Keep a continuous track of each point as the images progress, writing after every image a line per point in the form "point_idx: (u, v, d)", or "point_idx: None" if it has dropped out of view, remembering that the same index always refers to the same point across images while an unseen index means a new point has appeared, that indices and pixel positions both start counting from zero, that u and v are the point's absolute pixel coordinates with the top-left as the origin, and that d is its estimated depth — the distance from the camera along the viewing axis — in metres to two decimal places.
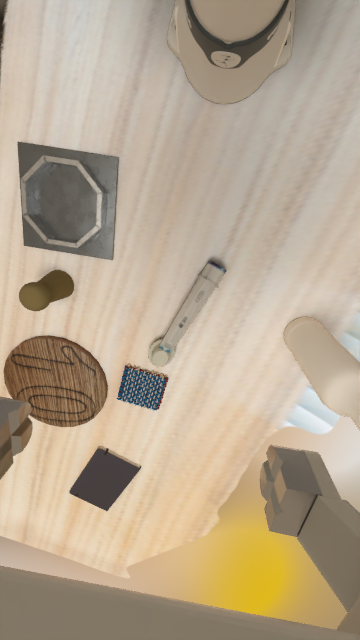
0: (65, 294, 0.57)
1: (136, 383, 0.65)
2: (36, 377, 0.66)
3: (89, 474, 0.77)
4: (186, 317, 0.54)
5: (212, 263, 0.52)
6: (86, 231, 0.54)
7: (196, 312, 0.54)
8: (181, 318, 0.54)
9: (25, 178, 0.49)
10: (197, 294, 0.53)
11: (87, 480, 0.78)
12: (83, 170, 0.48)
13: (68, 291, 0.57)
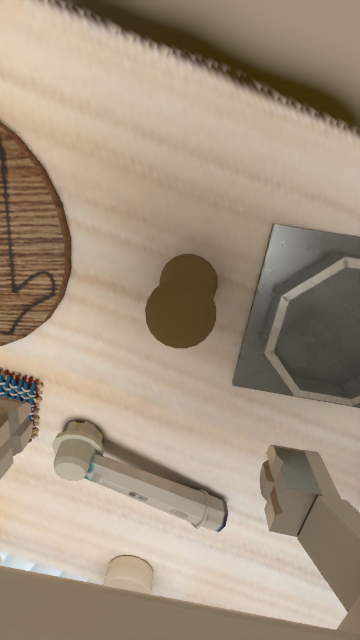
0: None
1: None
2: None
3: None
4: (146, 500, 0.35)
5: (224, 520, 0.38)
6: (285, 352, 0.30)
7: None
8: (144, 494, 0.35)
9: None
10: (182, 511, 0.36)
11: None
12: None
13: None
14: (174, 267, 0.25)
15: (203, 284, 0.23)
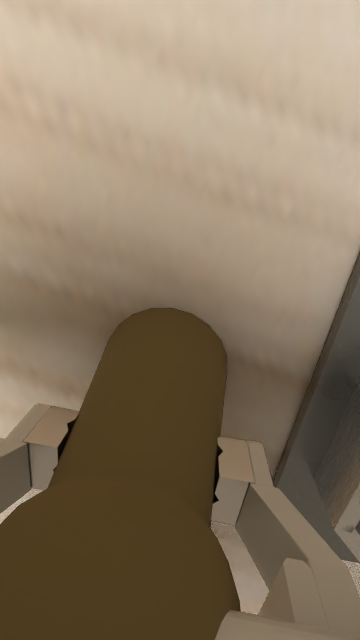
0: None
1: None
2: None
3: None
4: None
5: None
6: None
7: None
8: None
9: None
10: None
11: None
12: None
13: None
14: (120, 358, 0.10)
15: (193, 444, 0.07)
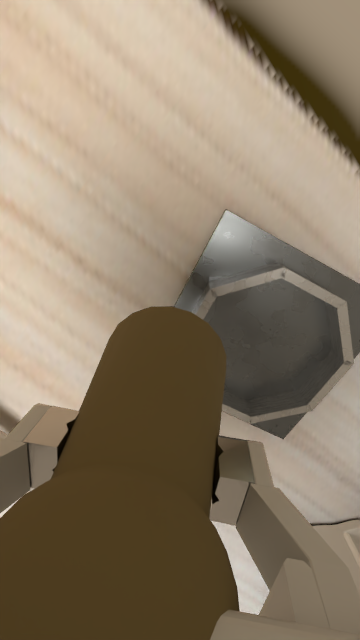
0: None
1: None
2: None
3: None
4: None
5: None
6: None
7: None
8: None
9: (341, 311, 0.23)
10: None
11: None
12: (294, 412, 0.27)
13: None
14: (121, 355, 0.10)
15: (192, 438, 0.07)
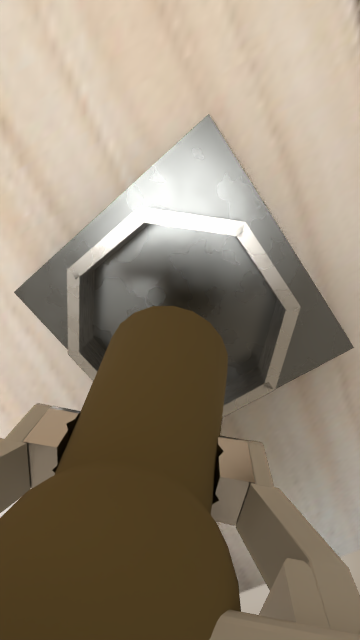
0: None
1: None
2: None
3: None
4: None
5: None
6: (104, 301, 0.21)
7: None
8: None
9: (289, 316, 0.17)
10: None
11: None
12: None
13: None
14: (123, 354, 0.10)
15: (194, 435, 0.07)
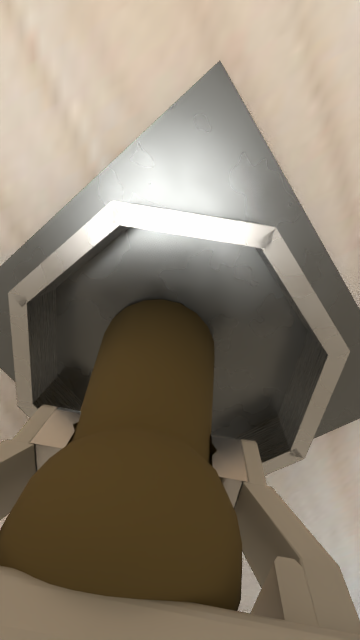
0: None
1: None
2: None
3: None
4: None
5: None
6: (71, 330, 0.15)
7: None
8: None
9: (331, 364, 0.12)
10: None
11: None
12: None
13: None
14: (119, 343, 0.11)
15: (191, 406, 0.08)
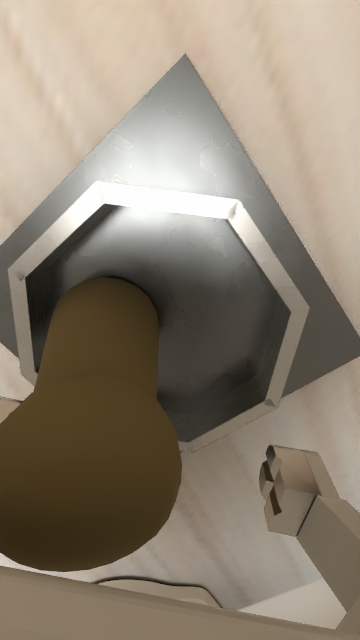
0: None
1: None
2: None
3: None
4: None
5: None
6: None
7: None
8: None
9: (295, 320, 0.14)
10: None
11: None
12: None
13: None
14: (67, 318, 0.12)
15: (134, 358, 0.10)
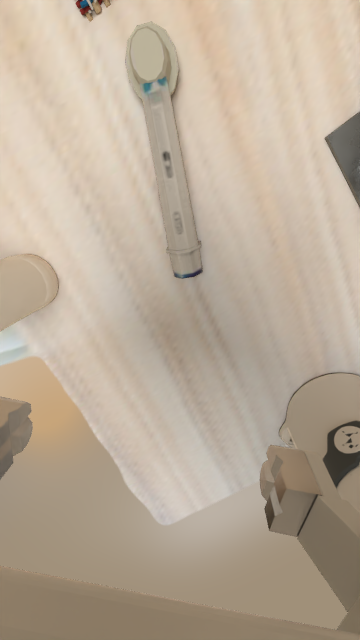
0: None
1: None
2: None
3: None
4: (169, 177, 0.30)
5: (197, 272, 0.36)
6: None
7: (162, 196, 0.32)
8: (174, 168, 0.30)
9: None
10: (183, 223, 0.32)
11: None
12: None
13: None
14: None
15: None
